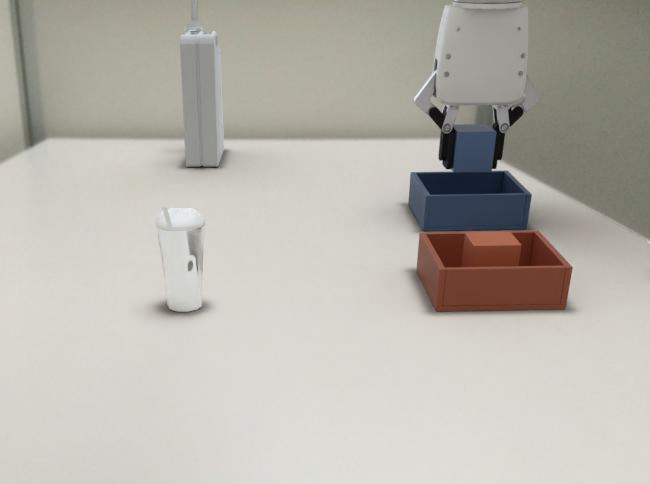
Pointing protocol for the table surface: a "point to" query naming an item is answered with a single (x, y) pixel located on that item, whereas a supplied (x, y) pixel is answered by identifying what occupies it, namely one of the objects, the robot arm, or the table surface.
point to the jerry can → (201, 94)
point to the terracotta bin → (493, 275)
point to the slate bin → (468, 201)
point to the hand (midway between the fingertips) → (469, 165)
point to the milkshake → (182, 256)
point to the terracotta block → (490, 249)
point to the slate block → (473, 148)
